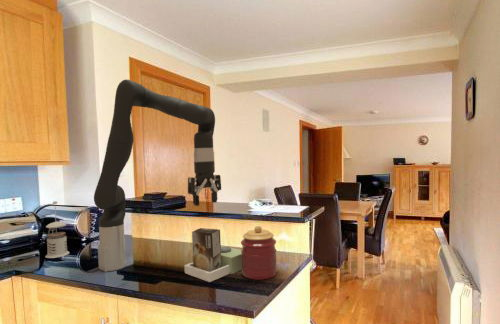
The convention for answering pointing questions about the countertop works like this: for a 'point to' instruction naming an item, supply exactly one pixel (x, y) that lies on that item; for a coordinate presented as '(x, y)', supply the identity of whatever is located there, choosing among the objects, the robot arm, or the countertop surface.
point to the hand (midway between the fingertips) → (205, 203)
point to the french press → (56, 240)
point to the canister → (258, 254)
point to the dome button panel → (230, 265)
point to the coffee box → (206, 249)
